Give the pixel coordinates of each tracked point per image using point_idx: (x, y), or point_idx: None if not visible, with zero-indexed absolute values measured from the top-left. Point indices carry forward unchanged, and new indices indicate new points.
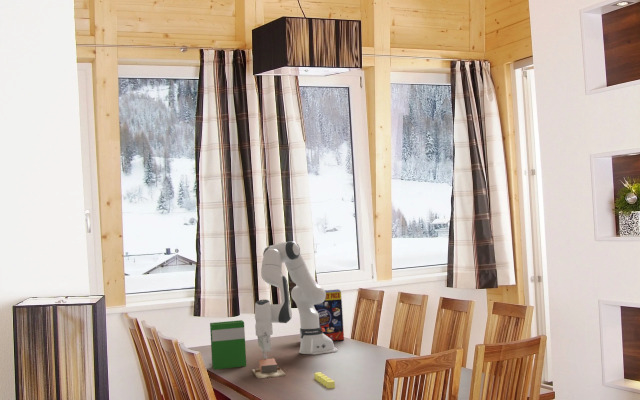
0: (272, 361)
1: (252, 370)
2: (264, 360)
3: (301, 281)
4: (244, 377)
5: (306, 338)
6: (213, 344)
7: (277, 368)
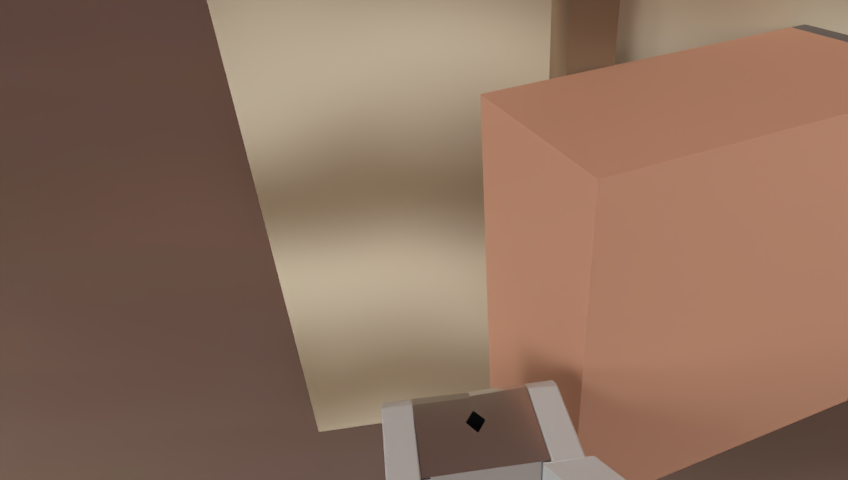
0: (782, 210)
1: (355, 417)
2: (647, 405)
3: None
4: (706, 465)
5: None
6: None
7: (609, 3)
